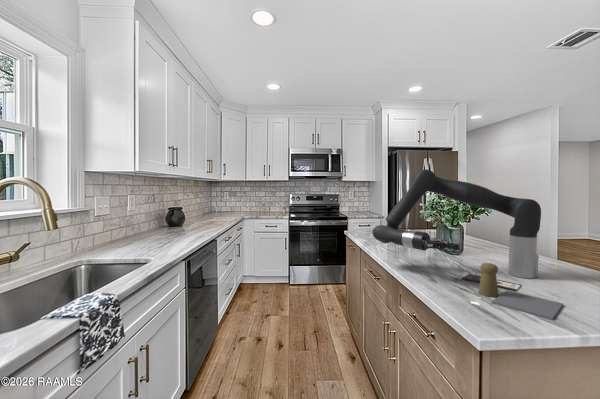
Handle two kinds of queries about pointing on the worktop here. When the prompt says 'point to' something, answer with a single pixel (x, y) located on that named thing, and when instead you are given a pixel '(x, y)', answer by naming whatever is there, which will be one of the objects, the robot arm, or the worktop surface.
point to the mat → (528, 304)
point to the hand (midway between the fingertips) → (458, 247)
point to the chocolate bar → (500, 283)
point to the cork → (488, 280)
